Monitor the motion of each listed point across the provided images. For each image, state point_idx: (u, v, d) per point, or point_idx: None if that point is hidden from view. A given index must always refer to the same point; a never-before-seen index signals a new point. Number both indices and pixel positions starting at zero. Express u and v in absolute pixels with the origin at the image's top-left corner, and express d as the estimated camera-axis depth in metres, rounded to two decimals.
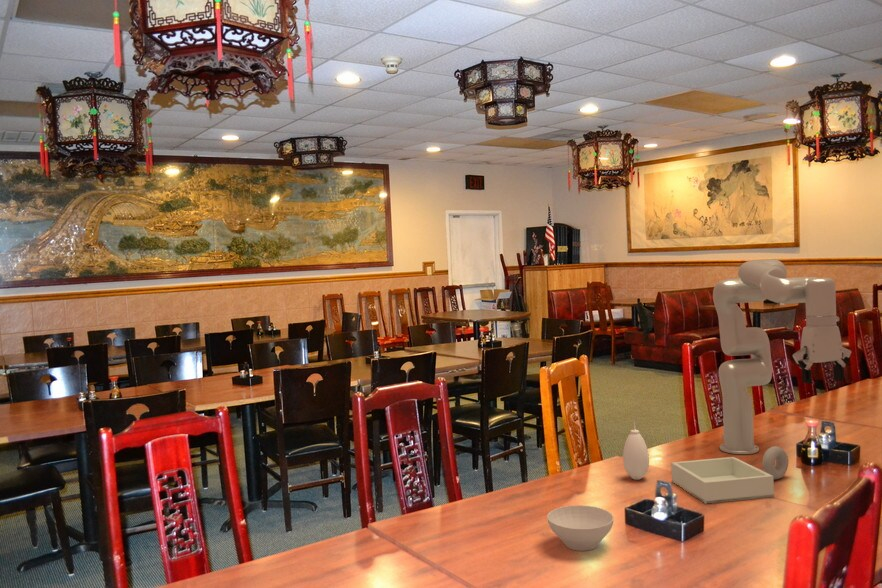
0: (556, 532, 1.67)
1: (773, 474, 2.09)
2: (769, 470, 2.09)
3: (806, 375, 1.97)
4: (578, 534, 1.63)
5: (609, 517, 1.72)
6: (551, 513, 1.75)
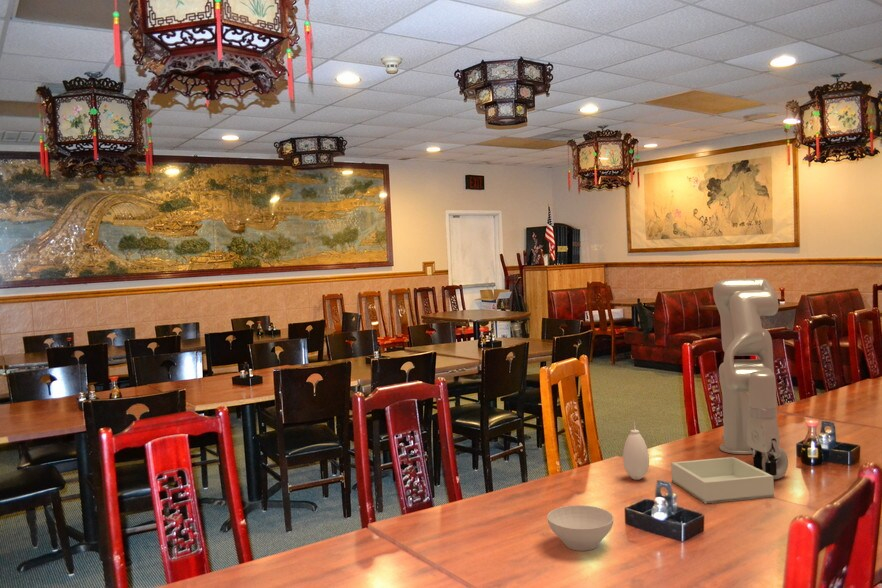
0: (556, 532, 1.67)
1: None
2: None
3: None
4: (578, 534, 1.63)
5: (609, 517, 1.72)
6: (551, 513, 1.75)
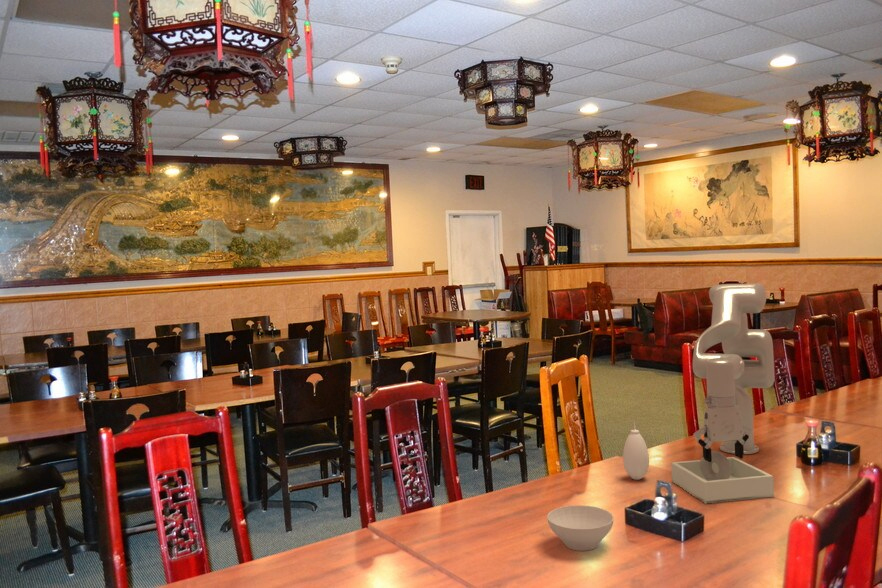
0: (556, 532, 1.67)
1: None
2: None
3: None
4: (578, 534, 1.63)
5: (609, 517, 1.72)
6: (551, 513, 1.75)
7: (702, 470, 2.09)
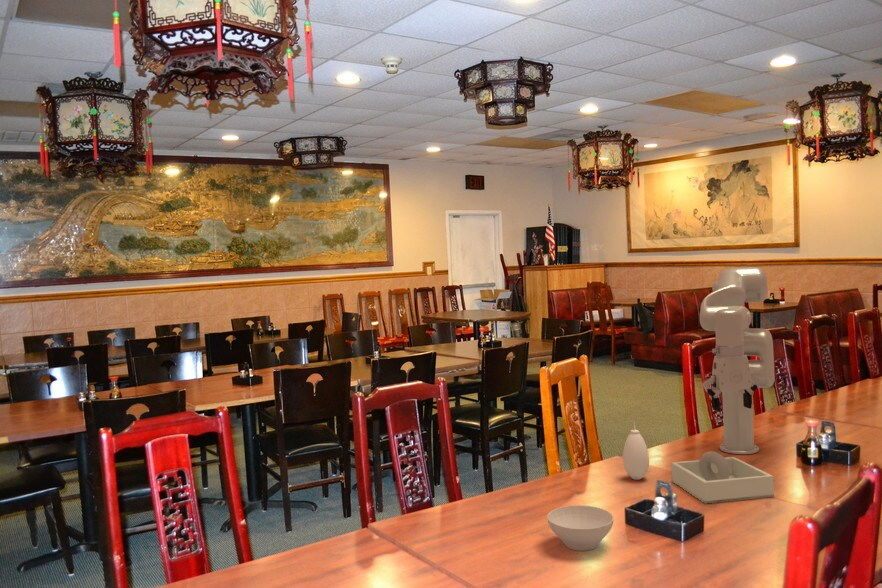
0: (556, 532, 1.67)
1: None
2: (729, 475, 2.04)
3: None
4: (578, 534, 1.63)
5: (609, 517, 1.72)
6: (551, 513, 1.75)
7: (701, 471, 2.09)
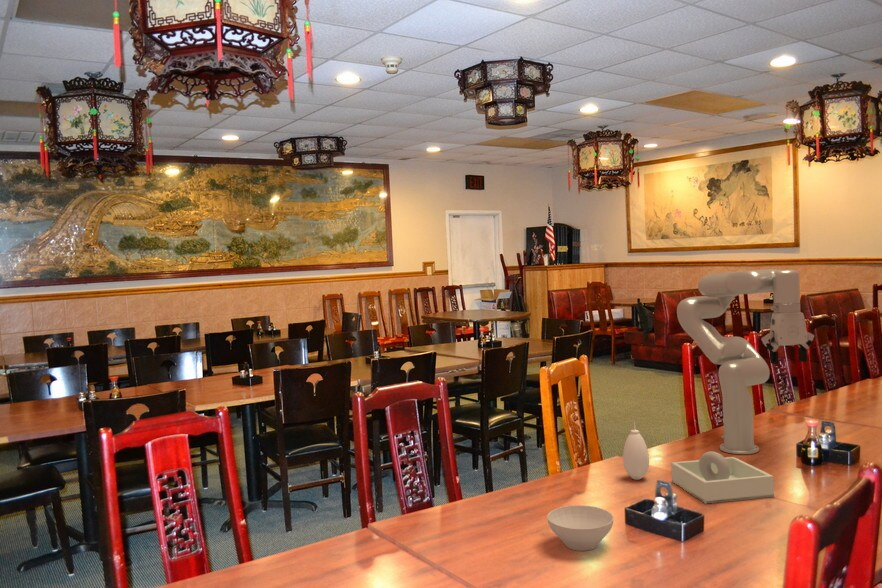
0: (556, 532, 1.67)
1: None
2: (729, 475, 2.04)
3: None
4: (578, 534, 1.63)
5: (609, 517, 1.72)
6: (551, 513, 1.75)
7: (701, 471, 2.09)
